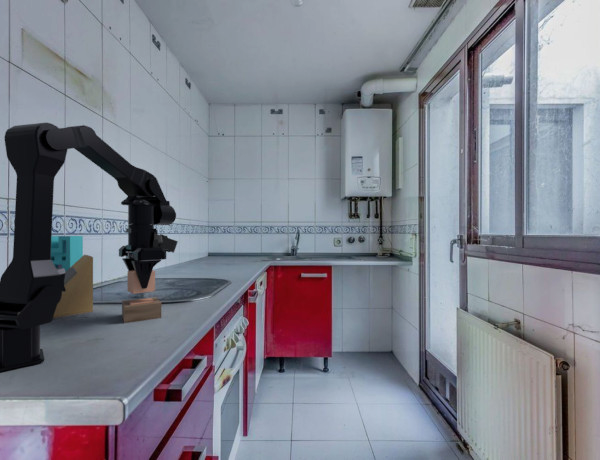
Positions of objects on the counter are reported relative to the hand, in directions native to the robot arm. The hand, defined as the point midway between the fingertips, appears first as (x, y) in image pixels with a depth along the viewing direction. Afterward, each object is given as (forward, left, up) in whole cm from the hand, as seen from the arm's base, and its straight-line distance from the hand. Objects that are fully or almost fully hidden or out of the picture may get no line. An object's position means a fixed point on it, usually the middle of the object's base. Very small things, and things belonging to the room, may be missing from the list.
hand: (141, 287), depth 78 cm
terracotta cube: (0, 0, -1) cm, 1 cm away
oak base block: (0, 0, -8) cm, 8 cm away
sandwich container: (+18, +16, -8) cm, 25 cm away
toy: (+31, +13, -8) cm, 35 cm away
